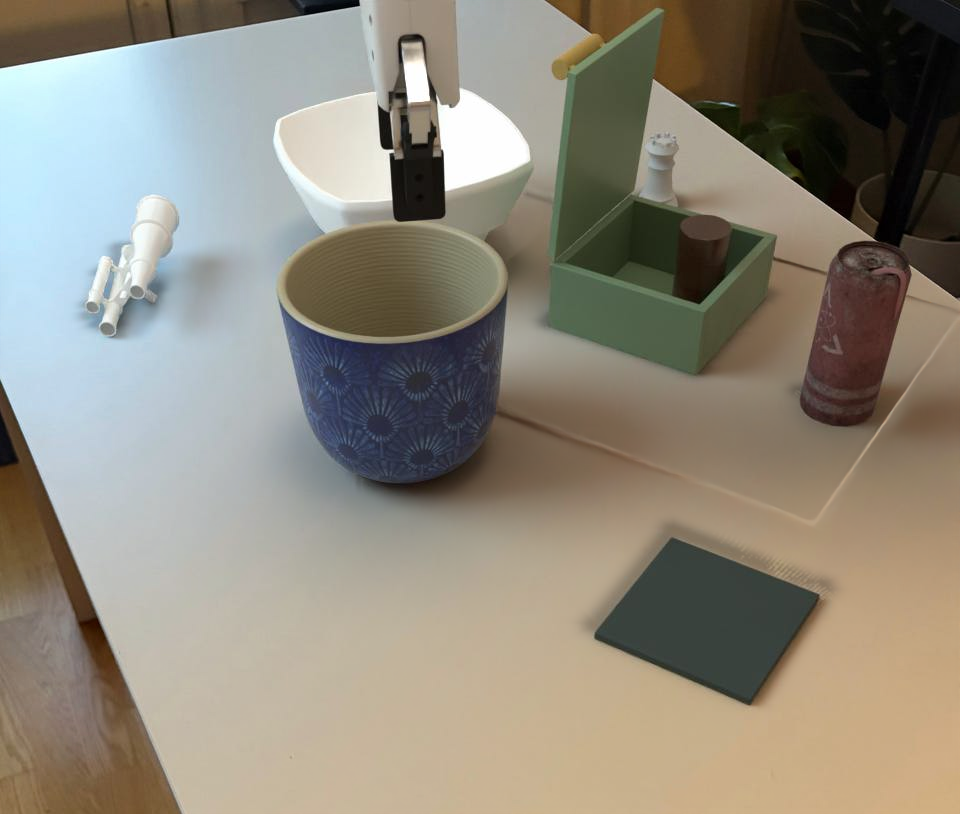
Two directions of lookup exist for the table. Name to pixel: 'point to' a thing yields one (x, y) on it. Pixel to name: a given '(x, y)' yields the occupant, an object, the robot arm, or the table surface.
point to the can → (855, 332)
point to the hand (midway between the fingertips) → (411, 181)
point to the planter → (396, 344)
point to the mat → (708, 619)
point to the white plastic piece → (135, 261)
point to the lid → (601, 126)
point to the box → (654, 287)
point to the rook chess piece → (660, 169)
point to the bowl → (366, 165)
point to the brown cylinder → (701, 257)
